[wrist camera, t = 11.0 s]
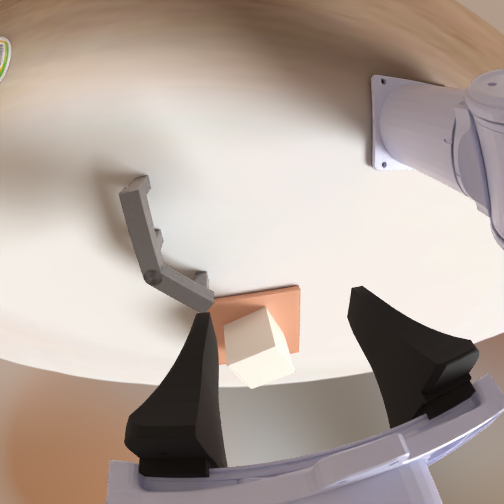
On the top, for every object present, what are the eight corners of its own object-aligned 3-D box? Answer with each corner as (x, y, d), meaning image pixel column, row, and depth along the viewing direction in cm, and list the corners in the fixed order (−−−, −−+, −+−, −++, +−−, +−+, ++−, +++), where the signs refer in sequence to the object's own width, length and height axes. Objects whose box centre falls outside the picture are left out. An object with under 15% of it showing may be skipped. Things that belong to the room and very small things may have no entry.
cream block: (265, 306, 26) (275, 345, 22) (284, 334, 28) (295, 371, 24) (223, 325, 27) (226, 366, 22) (245, 350, 29) (251, 388, 25)
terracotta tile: (298, 285, 26) (300, 289, 26) (297, 348, 31) (298, 352, 30) (201, 300, 26) (201, 304, 25) (218, 360, 30) (218, 364, 30)
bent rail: (193, 167, 20) (189, 180, 17) (215, 284, 25) (216, 312, 22) (133, 178, 19) (118, 194, 16) (164, 291, 25) (159, 319, 22)
